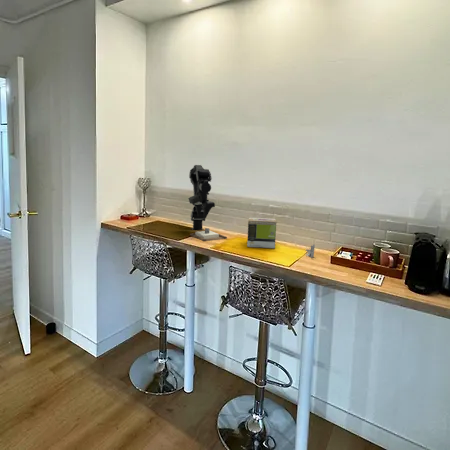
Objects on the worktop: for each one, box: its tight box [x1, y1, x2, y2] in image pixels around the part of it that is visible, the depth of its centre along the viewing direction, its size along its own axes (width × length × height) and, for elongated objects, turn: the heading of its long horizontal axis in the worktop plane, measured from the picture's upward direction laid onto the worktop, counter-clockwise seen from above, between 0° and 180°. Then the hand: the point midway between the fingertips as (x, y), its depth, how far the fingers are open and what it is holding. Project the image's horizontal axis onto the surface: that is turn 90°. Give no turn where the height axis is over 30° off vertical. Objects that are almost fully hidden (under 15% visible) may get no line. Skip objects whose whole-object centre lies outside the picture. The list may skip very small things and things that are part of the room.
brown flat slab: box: [189, 232, 228, 242], centre depth 202 cm, size 16×15×2 cm
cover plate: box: [195, 227, 220, 239], centre depth 203 cm, size 10×10×5 cm
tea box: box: [246, 217, 277, 249], centre depth 189 cm, size 15×10×15 cm, turn 84°
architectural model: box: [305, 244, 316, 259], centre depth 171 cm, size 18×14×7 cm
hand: (201, 217), depth 206 cm, fingers open, 7 cm apart
